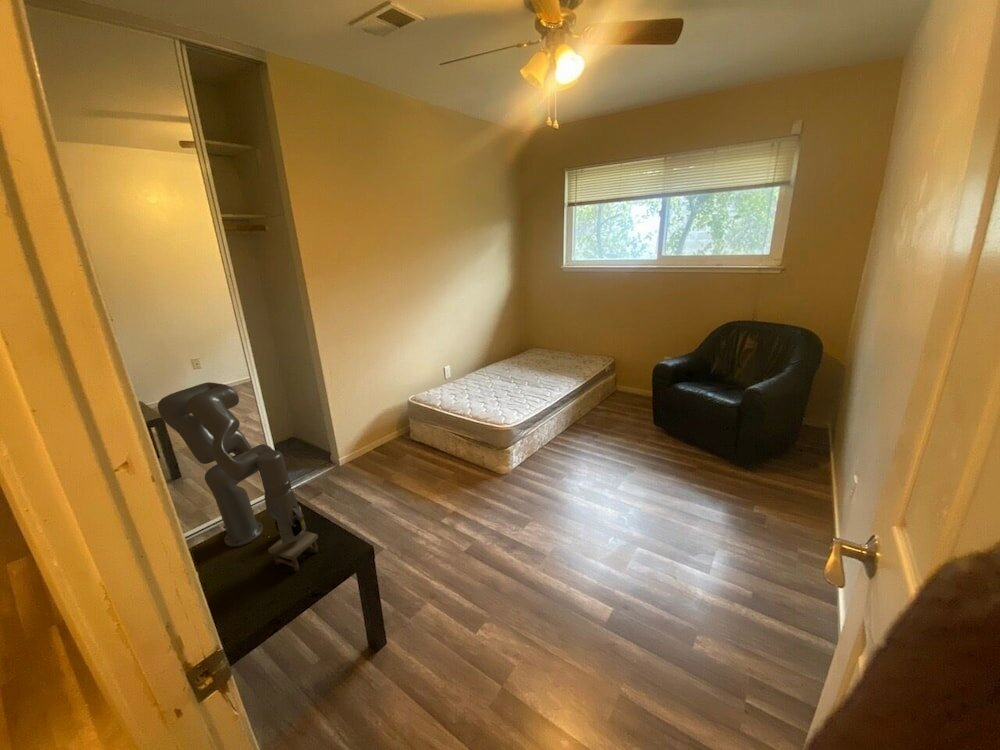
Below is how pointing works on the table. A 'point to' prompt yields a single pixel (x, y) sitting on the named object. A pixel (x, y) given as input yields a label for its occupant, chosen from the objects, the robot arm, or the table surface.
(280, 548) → the stool
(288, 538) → the skincare box
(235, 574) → the table surface
